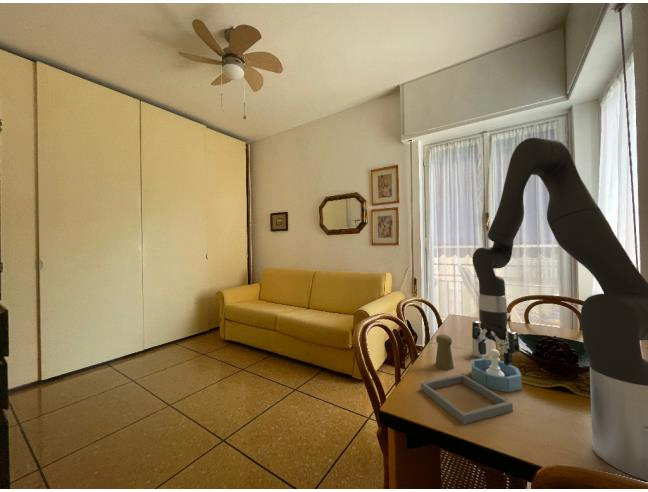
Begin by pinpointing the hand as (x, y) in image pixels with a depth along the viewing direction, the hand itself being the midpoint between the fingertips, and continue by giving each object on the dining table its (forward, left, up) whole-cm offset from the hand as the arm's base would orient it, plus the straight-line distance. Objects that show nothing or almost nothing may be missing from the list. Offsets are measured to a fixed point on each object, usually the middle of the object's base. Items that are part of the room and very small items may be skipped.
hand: (494, 359), depth 80 cm
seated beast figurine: (+30, -42, -7) cm, 52 cm away
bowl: (0, 0, -7) cm, 7 cm away
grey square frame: (-5, +18, -7) cm, 20 cm away
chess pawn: (0, 0, -6) cm, 6 cm away
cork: (+13, +8, -7) cm, 17 cm away
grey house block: (+16, -13, -7) cm, 22 cm away
